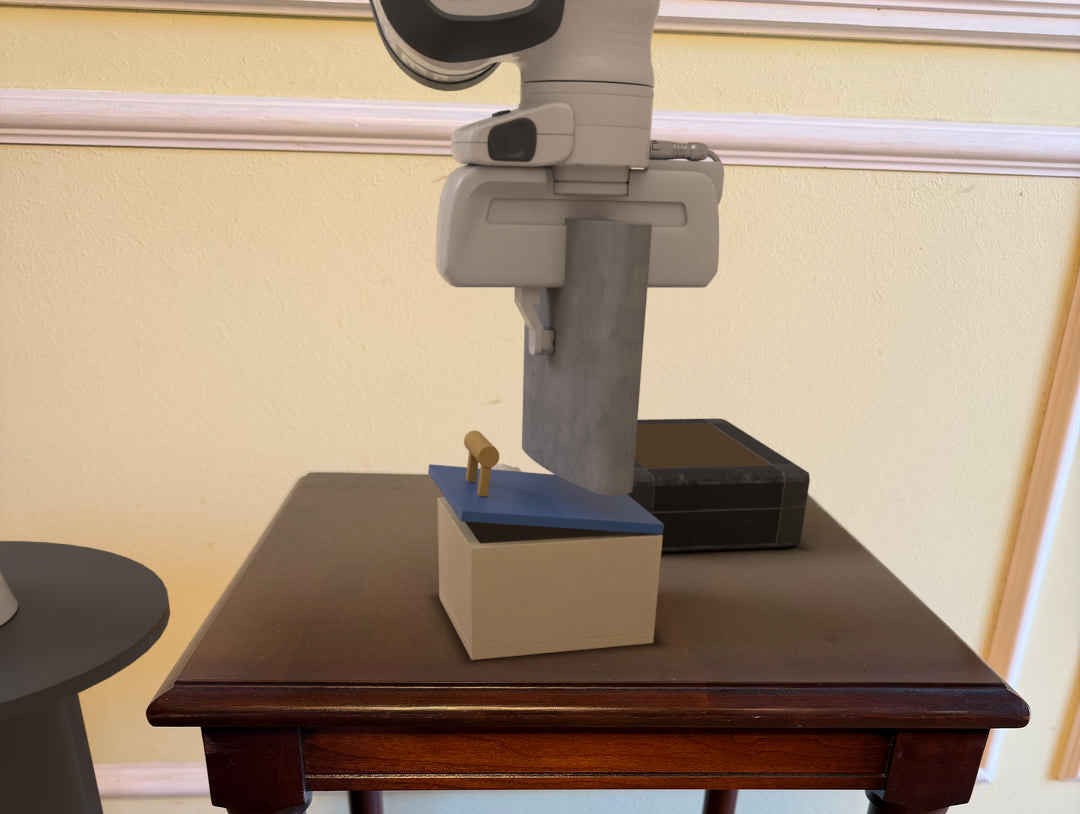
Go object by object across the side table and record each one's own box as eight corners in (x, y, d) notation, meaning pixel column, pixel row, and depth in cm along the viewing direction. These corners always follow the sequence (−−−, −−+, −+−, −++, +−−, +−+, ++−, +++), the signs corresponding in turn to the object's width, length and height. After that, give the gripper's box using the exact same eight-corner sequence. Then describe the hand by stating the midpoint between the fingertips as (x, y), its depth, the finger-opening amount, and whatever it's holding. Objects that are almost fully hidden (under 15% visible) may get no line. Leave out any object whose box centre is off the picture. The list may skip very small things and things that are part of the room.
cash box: (556, 486, 120) (558, 419, 116) (719, 481, 124) (727, 416, 120) (610, 557, 99) (614, 478, 95) (805, 549, 102) (818, 473, 99)
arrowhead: (513, 452, 125) (548, 481, 118) (513, 466, 126) (547, 496, 119) (461, 458, 123) (493, 488, 115) (461, 473, 124) (493, 504, 116)
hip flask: (640, 493, 74) (664, 180, 64) (589, 498, 72) (606, 178, 63) (550, 443, 86) (560, 175, 77) (506, 446, 85) (510, 173, 75)
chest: (471, 660, 77) (470, 547, 73) (439, 598, 88) (437, 497, 84) (653, 643, 81) (663, 535, 77) (601, 585, 92) (607, 488, 88)
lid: (460, 521, 72) (468, 456, 70) (428, 473, 83) (433, 416, 81) (662, 534, 77) (675, 474, 75) (606, 488, 88) (616, 434, 86)
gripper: (708, 143, 74) (689, 345, 80) (428, 132, 69) (432, 348, 75) (746, 142, 69) (723, 358, 75) (446, 130, 63) (449, 363, 70)
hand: (575, 353), depth 75 cm, fingers closed on hip flask, 4 cm apart
